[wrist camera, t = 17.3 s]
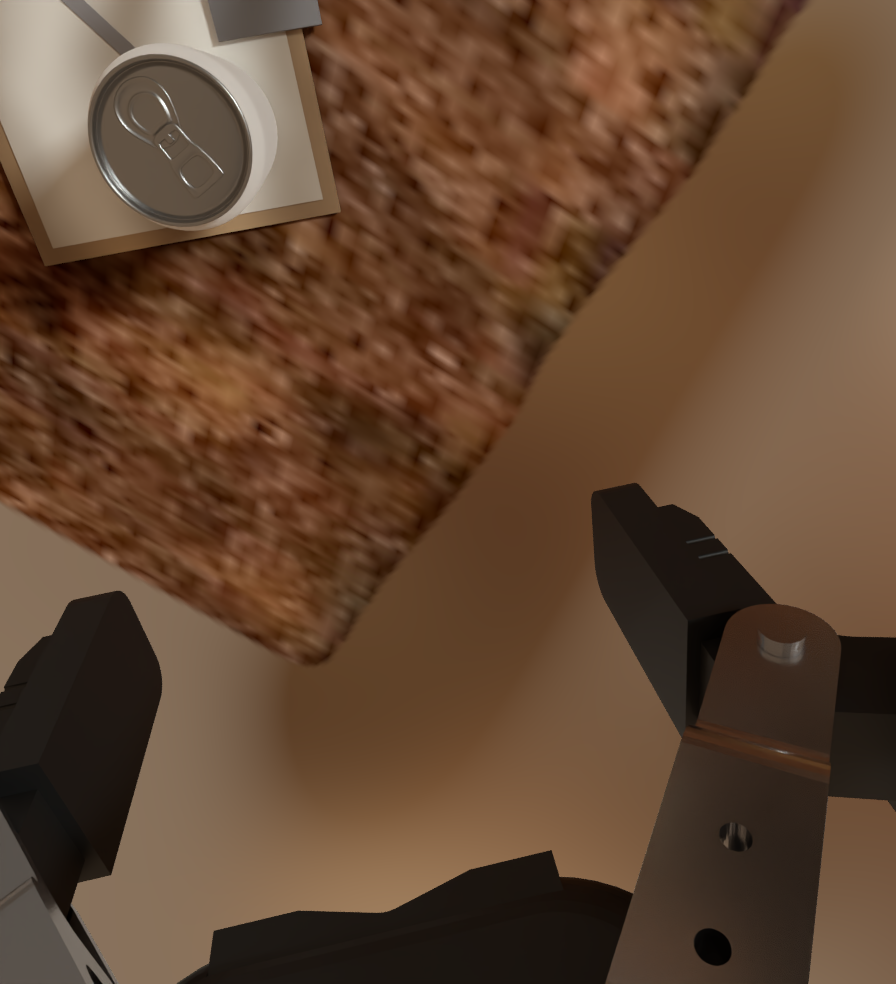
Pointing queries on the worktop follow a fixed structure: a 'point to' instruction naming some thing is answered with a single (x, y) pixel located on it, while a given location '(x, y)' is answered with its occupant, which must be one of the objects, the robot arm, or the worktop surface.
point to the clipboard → (67, 92)
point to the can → (181, 135)
